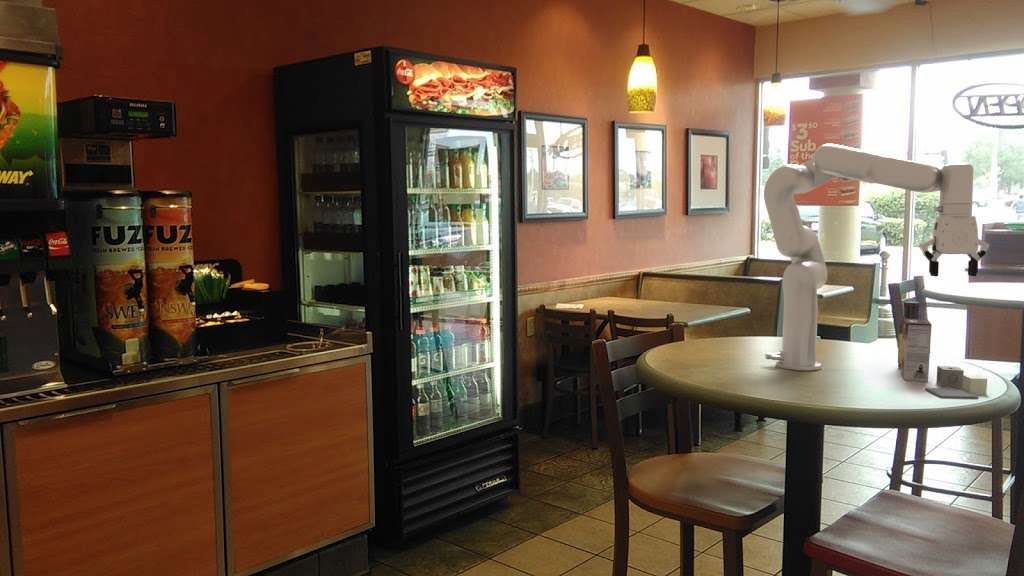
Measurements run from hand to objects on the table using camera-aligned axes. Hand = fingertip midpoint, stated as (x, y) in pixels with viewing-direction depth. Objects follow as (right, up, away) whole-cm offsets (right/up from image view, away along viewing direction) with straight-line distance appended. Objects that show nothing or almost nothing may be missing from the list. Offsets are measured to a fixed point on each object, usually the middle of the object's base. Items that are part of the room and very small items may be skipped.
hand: (953, 275), depth 211 cm
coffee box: (-4, -29, +12) cm, 31 cm away
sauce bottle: (0, -27, +24) cm, 37 cm away
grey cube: (0, -30, +1) cm, 30 cm away
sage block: (+3, -30, -5) cm, 31 cm away
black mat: (-5, -30, -8) cm, 32 cm away
